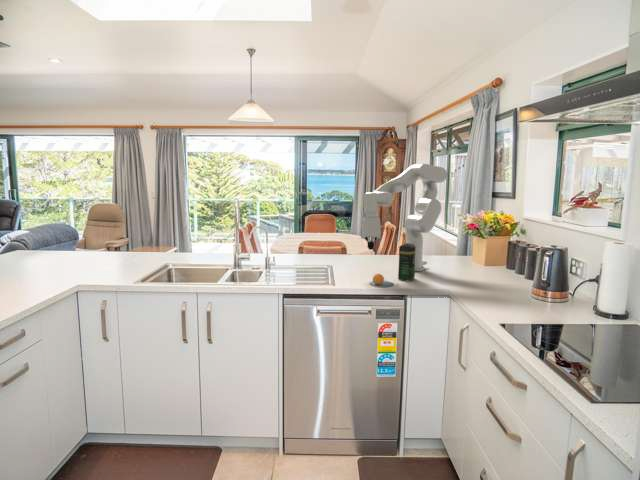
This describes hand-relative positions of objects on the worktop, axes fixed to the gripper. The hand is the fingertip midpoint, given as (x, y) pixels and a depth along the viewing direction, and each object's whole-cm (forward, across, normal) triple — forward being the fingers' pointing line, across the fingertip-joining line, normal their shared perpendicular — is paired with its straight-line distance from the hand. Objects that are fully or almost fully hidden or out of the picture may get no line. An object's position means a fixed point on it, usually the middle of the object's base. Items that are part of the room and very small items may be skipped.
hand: (370, 249), depth 221 cm
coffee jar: (+14, +16, -13) cm, 25 cm away
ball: (+11, -2, -23) cm, 26 cm away
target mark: (+14, 0, -22) cm, 26 cm away
